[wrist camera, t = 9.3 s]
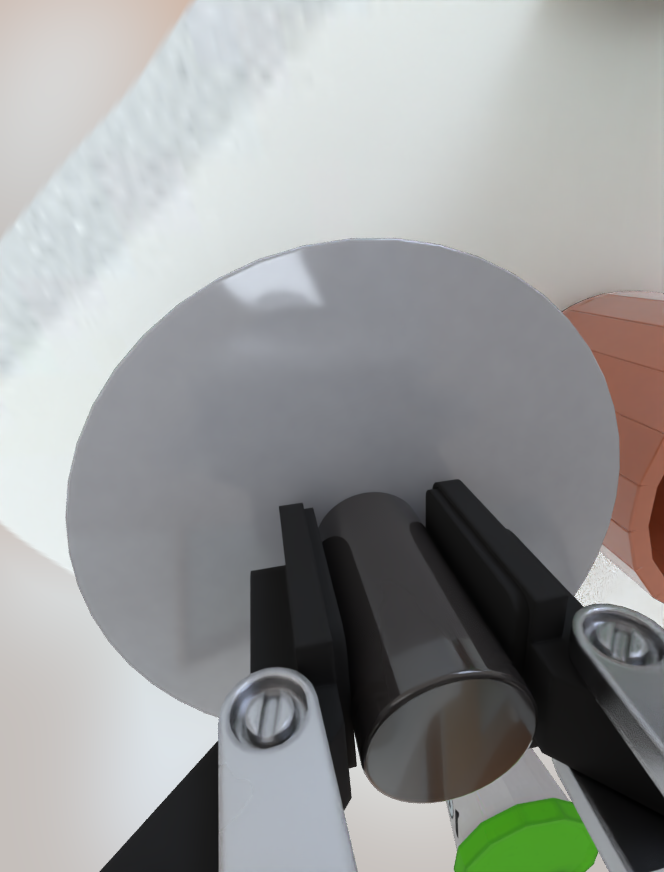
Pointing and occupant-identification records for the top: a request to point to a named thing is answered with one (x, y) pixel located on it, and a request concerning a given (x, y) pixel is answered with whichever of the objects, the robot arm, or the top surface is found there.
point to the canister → (633, 424)
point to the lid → (346, 485)
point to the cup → (520, 825)
